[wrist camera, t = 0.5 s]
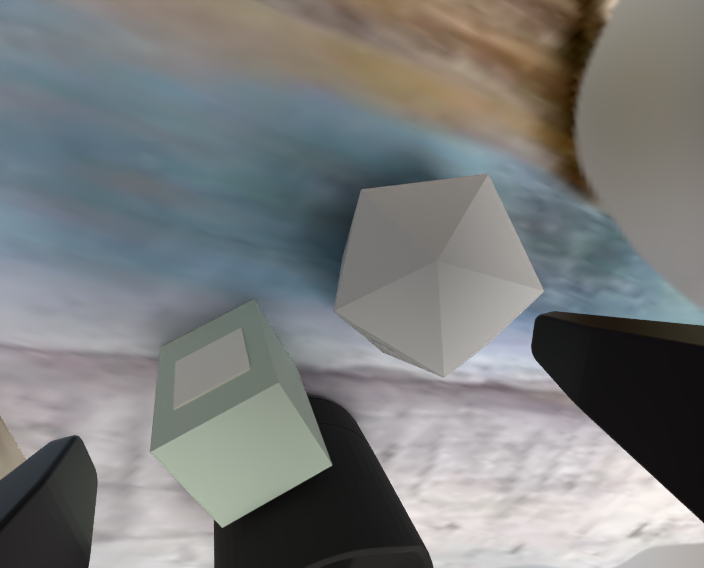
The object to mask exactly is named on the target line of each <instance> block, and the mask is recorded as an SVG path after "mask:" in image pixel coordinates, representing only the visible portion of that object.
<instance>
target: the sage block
mask: <svg viewBox="0 0 704 568" xmlns="http://www.w3.org/2000/svg"><path fill="white" fill-rule="evenodd" d="M150 453H151V454H152V455H153V456H154V457H155V458H156V459H157V460H158V461H159V462H160V463H161V464H162V465H163V467H164V468H165V469H166V470H167V471H168V472H169V473H170V474H171V475H172V476H173V477H174V478H175V479H176V480H177V481H178V482H179V483H180V484H181V485H182V486H183V487H184V488H185V490H186V491H187V492H188V493H189V494H190V495H191V496H192V497H193V498H194V499H195V500H196V501H197V502H198V503H199V504H200V505H201V506H202V507H203V508H204V509H205V510H206V511H207V513H208V514H209V515H210V516H211V517H212V518H213V519H214V520H215V521H216V522H217V523H218V524H219V525H220V526H221V527H222V528H223V527H225V526H227V525H228V524H230V523H232V522H234V521H235V520H237V519H239V518H241V517H242V516H244V515H246V514H248V513H249V512H251V511H253V510H255V509H256V508H258V507H260V506H262V505H264V504H265V503H267V502H269V501H271V500H272V499H274V498H276V497H278V496H279V495H281V494H283V493H285V492H286V491H288V490H290V489H292V488H293V487H295V486H297V485H299V484H301V483H302V482H304V481H306V480H308V479H309V478H311V477H313V476H315V475H316V474H318V473H320V472H322V471H323V470H325V469H327V468H329V467H330V466H332V463H331V460H330V457H329V454H328V452H327V449H326V446H325V443H324V441H323V438H322V435H321V432H320V430H319V427H318V424H317V421H316V419H315V416H314V413H313V410H312V408H311V405H310V402H309V399H308V397H307V394H306V391H305V388H304V386H303V383H302V380H301V377H300V375H299V372H298V369H297V368H296V366H295V364H294V363H293V361H292V359H291V358H290V356H289V354H288V353H287V351H286V350H285V348H284V346H283V345H282V343H281V341H280V340H279V338H278V336H277V335H276V333H275V331H274V330H273V328H272V326H271V325H270V323H269V321H268V320H267V318H266V317H265V315H264V313H263V312H262V310H261V308H260V307H259V305H258V303H257V302H256V300H255V298H254V299H252V300H251V301H249V302H247V303H245V304H243V305H241V306H239V307H237V308H235V309H233V310H231V311H229V312H227V313H225V314H224V315H222V316H220V317H218V318H216V319H214V320H212V321H210V322H208V323H206V324H204V325H202V326H200V327H199V328H197V329H195V330H193V331H191V332H189V333H187V334H185V335H183V336H181V337H179V338H177V339H175V340H174V341H172V342H170V343H168V344H166V345H164V346H162V347H160V355H159V365H158V375H157V385H156V396H155V406H154V416H153V426H152V437H151V447H150Z"/></svg>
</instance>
